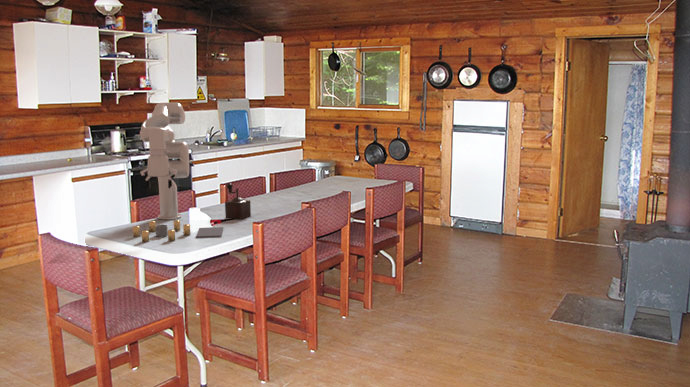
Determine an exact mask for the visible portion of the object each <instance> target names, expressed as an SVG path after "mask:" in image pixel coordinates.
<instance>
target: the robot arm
mask: <svg viewBox="0 0 690 387" xmlns="http://www.w3.org/2000/svg"><path fill="white" fill-rule="evenodd" d="M185 121H186V114H185V110H184V108H183V105H182V104H181V103H179V102H176V101H174V102H158V103H157V104H156V105H155V106H154V110H153V111H152V113H151V117H149V118H147V119H145V120H144V121H143V122H142V124H141V128H140V133H139V134H140V140H142V142H145V143H148V146H149V147H148V148H149V155H148V158H147V167H146V168H145V169H142V170H140V173H139V174H140V175H141V176H142V178H143V179H144V180H145V181H146V188H147V189H148V190H149V189H151V180H150V179H151V178H152V177H153V178H155V177H157V180H158V196H159V210H160V211H159V212H160V213H159V214H158V215H157V219H159V220H164V221H165V220H167V221H168V220H178V219H180V218H181V217H182V214H181V213H179V204H178V187H177V186H178V185H177V184H176V181H174V180H173V179H184V178H188V177H189V175H190V152H189V151H190V150H189V145H188V143H187V142H185V141H179V140H178V141H175V132H174V130H173V129H172V127H170V126H169V125H183V124H184V123H185ZM172 159H173V160H172ZM175 159H179V160H175ZM146 172H147V176H146V174H145V173H146Z"/></svg>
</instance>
